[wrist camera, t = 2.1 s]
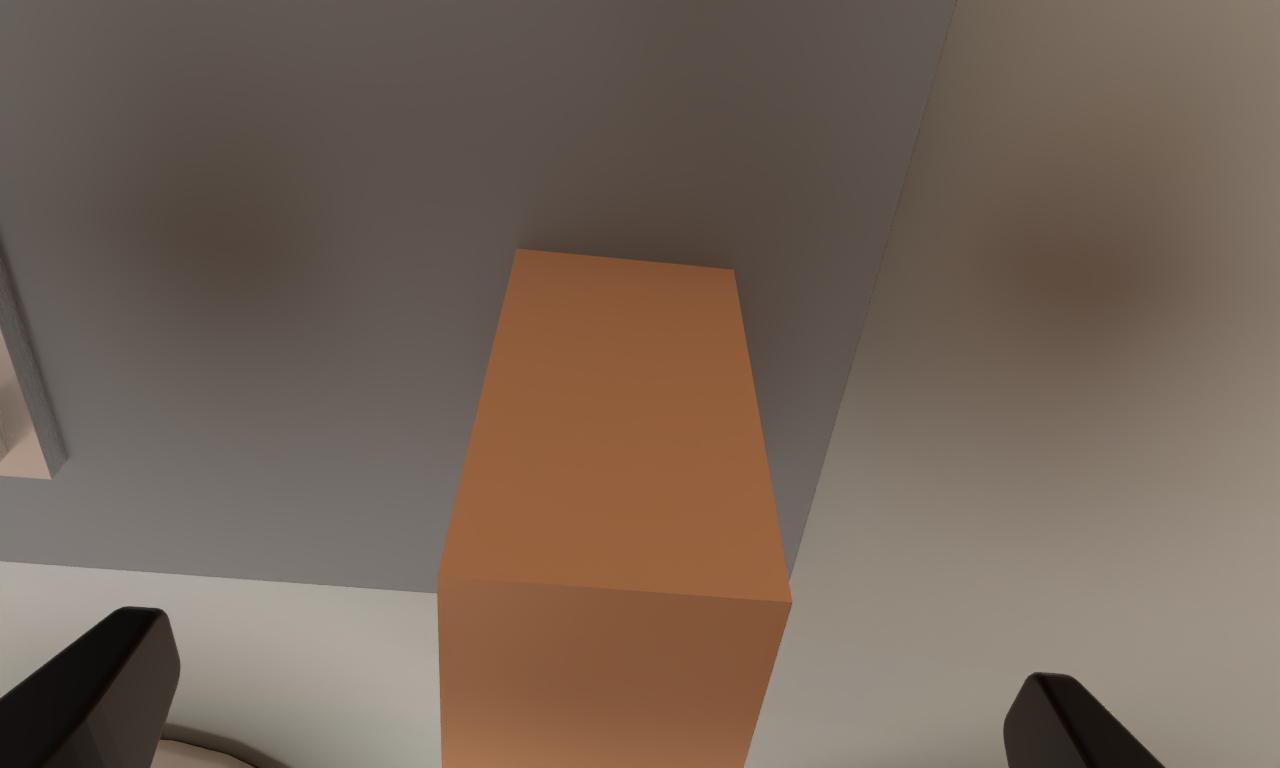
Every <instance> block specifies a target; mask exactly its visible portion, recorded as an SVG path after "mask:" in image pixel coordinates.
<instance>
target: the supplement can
mask: <svg viewBox="0 0 1280 768" xmlns="http://www.w3.org/2000/svg"><path fill="white" fill-rule="evenodd" d="M150 768H254V767H252V766H250V765H248V764H246V763H244V762H242V761H240V760H238V759H236V758H234V757H232V756H230V755H228V754H224V753H220V752H216V751H212V750H208V749H204V748H201V747H197V746H193V745H189V744H185V743H181V742H177V741H173V740H159V743H158V746H157V749H156V752H155V755H154V758H153V761H152V764H151V767H150Z"/></svg>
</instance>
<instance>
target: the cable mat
mask: <svg viewBox="0 0 1280 768" xmlns="http://www.w3.org/2000/svg"><path fill="white" fill-rule="evenodd" d="M956 1H957V0H0V248H1V252H2V255H3V258H4V261H5V264H6V267H7V270H8V273H9V277H10V280H11V283H12V286H13V289H14V292H15V295H16V298H17V301H18V305H19V308H20V311H21V314H22V317H23V320H24V323H25V326H26V329H27V333H28V336H29V339H30V342H31V345H32V348H33V351H34V354H35V357H36V361H37V364H38V367H39V370H40V373H41V376H42V379H43V382H44V385H45V389H46V392H47V395H48V398H49V401H50V404H51V407H52V410H53V413H54V417H55V420H56V423H57V426H58V429H59V432H60V435H61V438H62V442H63V445H64V448H65V451H66V454H67V457H68V460H67V461H66V462H65V464H64V465H63V466H62V467H61V469H60V470H59V471H58V472H57V474H56V475H55V476H54V478H53V479H52V480H49V479H36V478H24V477H11V476H0V561H6V562H19V563H33V564H46V565H60V566H73V567H87V568H101V569H114V570H128V571H141V572H155V573H168V574H182V575H196V576H209V577H223V578H236V579H250V580H263V581H277V582H291V583H304V584H318V585H331V586H345V587H358V588H372V589H386V590H399V591H413V592H426V593H437V574H438V570H439V566H440V561H441V557H442V553H443V549H444V545H445V541H446V537H447V533H448V528H449V524H450V520H451V516H452V512H453V508H454V504H455V500H456V496H457V491H458V487H459V483H460V479H461V475H462V471H463V467H464V463H465V459H466V454H467V450H468V446H469V442H470V438H471V434H472V430H473V426H474V421H475V417H476V413H477V409H478V405H479V401H480V397H481V393H482V389H483V384H484V380H485V376H486V372H487V368H488V364H489V360H490V356H491V351H492V347H493V343H494V339H495V335H496V331H497V327H498V323H499V319H500V314H501V310H502V306H503V302H504V298H505V294H506V290H507V286H508V281H509V277H510V273H511V269H512V265H513V261H514V257H515V253H516V249H527V250H537V251H547V252H557V253H568V254H578V255H588V256H599V257H609V258H619V259H630V260H640V261H650V262H661V263H671V264H681V265H691V266H702V267H712V268H722V269H733V270H734V274H735V280H736V285H737V291H738V297H739V302H740V308H741V314H742V319H743V325H744V331H745V336H746V342H747V348H748V353H749V359H750V365H751V370H752V376H753V382H754V387H755V393H756V399H757V405H758V410H759V416H760V422H761V427H762V433H763V439H764V444H765V450H766V456H767V461H768V467H769V473H770V478H771V484H772V490H773V495H774V501H775V507H776V512H777V518H778V524H779V529H780V535H781V541H782V546H783V552H784V558H785V564H786V569H787V575H788V581H789V580H790V576H791V573H792V569H793V566H794V562H795V559H796V556H797V552H798V549H799V545H800V542H801V538H802V535H803V531H804V528H805V524H806V521H807V517H808V514H809V511H810V507H811V504H812V500H813V497H814V493H815V490H816V486H817V483H818V479H819V476H820V472H821V469H822V465H823V462H824V459H825V455H826V452H827V448H828V445H829V441H830V438H831V434H832V431H833V427H834V424H835V420H836V417H837V414H838V410H839V407H840V403H841V400H842V396H843V393H844V389H845V386H846V382H847V379H848V375H849V372H850V369H851V365H852V362H853V358H854V355H855V351H856V348H857V344H858V341H859V337H860V334H861V330H862V327H863V324H864V320H865V317H866V313H867V310H868V306H869V303H870V299H871V296H872V292H873V289H874V285H875V282H876V278H877V275H878V272H879V268H880V265H881V261H882V258H883V254H884V251H885V247H886V244H887V240H888V237H889V233H890V230H891V227H892V223H893V220H894V216H895V213H896V209H897V206H898V202H899V199H900V195H901V192H902V188H903V185H904V182H905V178H906V175H907V171H908V168H909V164H910V161H911V157H912V154H913V150H914V147H915V143H916V140H917V136H918V133H919V130H920V126H921V123H922V119H923V116H924V112H925V109H926V105H927V102H928V98H929V95H930V91H931V88H932V85H933V81H934V78H935V74H936V71H937V67H938V64H939V60H940V57H941V53H942V50H943V46H944V43H945V40H946V36H947V33H948V29H949V26H950V22H951V19H952V15H953V12H954V8H955V5H956Z"/></svg>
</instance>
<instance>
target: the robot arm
mask: <svg viewBox="0 0 1280 768" xmlns="http://www.w3.org/2000/svg"><path fill="white" fill-rule="evenodd" d="M179 676H180V658H179V654H178V650H177V647H176V643H175V639H174V636H173V632H172V628H171V625H170V621H169V618H168V616H167V614H166V613H165V612H164V611H163V610H162V609H158V608H146V607H132V606H128V607H122V608H120V609H117V610H115V611H114V612H112V613H111V614H110V615H108V616H107V617H106V618H104V619H103V620H102V621H100V622H99V623H98V624H97V625H95V626H94V627H93V628H91V629H90V630H89V631H87V632H86V633H85V634H84V635H82V636H81V637H80V638H78V639H77V640H76V641H74V642H73V643H72V644H71V645H69V646H68V647H67V648H65V649H64V650H63V651H61V652H60V653H59V654H58V655H56V656H55V657H54V658H52V659H51V660H50V661H48V662H47V663H46V664H44V665H43V666H42V667H41V668H39V669H38V670H37V671H35V672H34V673H33V674H31V675H30V676H29V677H28V678H26V679H25V680H24V681H22V682H21V683H20V684H18V685H17V686H16V687H15V688H13V689H12V690H11V691H9V692H8V693H7V694H5V695H4V696H3V697H2V698H0V768H150V767H151V764H152V761H153V758H154V755H155V752H156V749H157V746H158V743H159V740H160V737H161V734H162V731H163V728H164V725H165V721H166V718H167V715H168V712H169V709H170V706H171V703H172V700H173V697H174V694H175V691H176V688H177V685H178V681H179ZM1003 735H1004V744H1005V749H1006V755H1007V760H1008V766H1009V768H1165V767H1164V766H1163V765H1162V764H1161V763H1160V762H1159V761H1158V760H1157V759H1156V758H1155V757H1154V756H1153V755H1152V754H1151V753H1150V752H1149V751H1148V750H1147V749H1146V748H1145V747H1144V746H1143V745H1142V744H1141V743H1140V742H1139V741H1138V740H1137V739H1136V738H1135V737H1134V736H1133V735H1132V734H1131V733H1130V732H1129V731H1128V730H1127V729H1126V728H1125V727H1124V726H1123V725H1122V724H1121V723H1120V722H1119V721H1118V720H1117V719H1116V718H1115V717H1114V716H1113V715H1112V714H1111V713H1110V712H1109V711H1108V710H1107V709H1106V708H1105V707H1104V706H1103V705H1102V704H1101V703H1100V702H1099V701H1098V700H1097V699H1096V698H1095V697H1094V696H1093V695H1092V694H1091V693H1090V692H1089V691H1088V690H1087V689H1086V688H1085V687H1084V686H1083V685H1082V684H1081V683H1080V682H1078V681H1077V680H1076V679H1075V678H1073V677H1071V676H1069V675H1066V674H1057V673H1043V672H1035V673H1033V674H1031V675H1030V676H1028V677H1027V679H1026V680H1025V682H1024V684H1023V686H1022V688H1021V690H1020V691H1019V693H1018V695H1017V697H1016V699H1015V701H1014V702H1013V704H1012V706H1011V708H1010V710H1009V712H1008V713H1007V715H1006V718H1005V722H1004V729H1003Z"/></svg>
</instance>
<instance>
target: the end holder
mask: <svg viewBox="0 0 1280 768" xmlns="http://www.w3.org/2000/svg"><path fill="white" fill-rule="evenodd" d="M67 460H68V457H67V454H66V451H65V448H64V445H63V442H62V438H61V435H60V432H59V429H58V426H57V423H56V420H55V417H54V413H53V410H52V407H51V404H50V401H49V398H48V395H47V392H46V389H45V385H44V382H43V379H42V376H41V373H40V370H39V367H38V364H37V361H36V357H35V354H34V351H33V348H32V345H31V342H30V339H29V336H28V333H27V329H26V326H25V323H24V320H23V317H22V314H21V311H20V308H19V305H18V301H17V298H16V295H15V292H14V289H13V286H12V283H11V280H10V277H9V273H8V270H7V267H6V264H5V261H4V258H3V255H2V252H1V248H0V476H11V477H24V478H36V479H49V480H52V479H53V478H54V476H55V475H56V474H57V472H58V471H59V470H60V469H61V467H62V466H63V465H64V464H65V462H66V461H67Z"/></svg>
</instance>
